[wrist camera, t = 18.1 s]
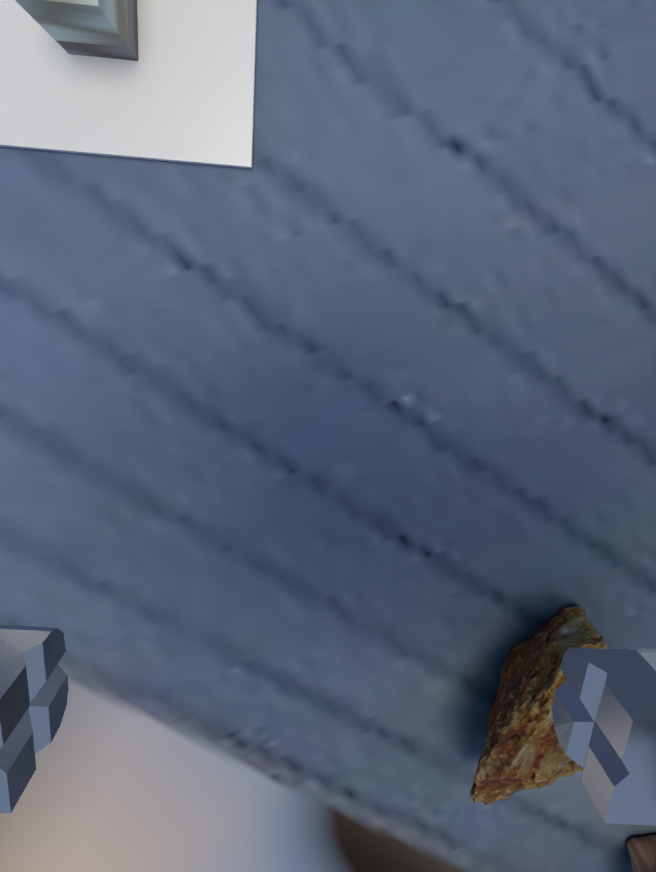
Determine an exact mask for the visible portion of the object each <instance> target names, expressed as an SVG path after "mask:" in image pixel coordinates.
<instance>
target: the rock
mask: <svg viewBox="0 0 656 872" xmlns="http://www.w3.org/2000/svg"><path fill="white" fill-rule="evenodd" d="M568 648H597V649H609V648H607V644H605V643H604V638H603V636H602V635H601V634H599V633H598V632H597V631H596V630H595V629H594V627H593V626H592V625H591V624H590V623H589V622H588V620H587V619H586V614H585V611H584V610H583V609H582V608H581V607H578V606H575V607H569V608H562V609H561V610H560V611H559V612H557V613H556V614H555V615H554V616H553V617H551V618H550V619H549V620H548V621H547V622H546V623H545V624H544V625H543V626H542V628H540V629H539V630H537V632H536V633H535V634H534V635H533V636H532V637H531V638H530V639H529V640H527V641H524V642H521V643H520V644H518V645H517V646H515V647H514V649H513V650H512V651H511V652H510V653H509V655H508V656H507V658H506V659H505V661H504V664H503V667H502V669H501V672H500V684H499V688H498V691H497V695H496V700H495V702H494V704H493V706H492V709H491V713H490V716H489V725H488V734H487V738H486V740H485V743H484V748H483V750H482V752H481V757H480V758H479V762H478V768H477V771H476V774H475V778H474V781H475V782H474V783H473V786H472V789H471V791H470V797H471V799H472V800H473V802H483V803H484V804H485V805H489V804H491V803H493V802H495V801H497V800H500V799H507V798H509V797H510V796H511V795H512V794H514V793H515V792H517V791H519V790H521V789H535V788H540V787H544V786H547V785H550V784H552V783H553V782H555V781H556V780H557V779H560V778H561V777H565V776H570V775H571V774H572V773H576V772H580V771H582V770H583V768H582V767H581V766H580V765H578V764H577V763H576V762H574V761H573V760H572V759H571V758H569V757H568V756H567V755H566V754H565V752H564V750H563V748H562V747H561V745H560V743H559V741H558V738H557V735H556V732H555V729H554V725H553V715H552V705H553V699H554V694H555V691H556V690H557V689H558V688H559V687H560V686H561V685H562V684H563V683H564V682H565V681H566V678H565V676H564V674H563V672H562V671H561V669H560V667H561V663H562V659H563V655H564V654H565V652H566V651H567V650H568Z"/></svg>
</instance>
